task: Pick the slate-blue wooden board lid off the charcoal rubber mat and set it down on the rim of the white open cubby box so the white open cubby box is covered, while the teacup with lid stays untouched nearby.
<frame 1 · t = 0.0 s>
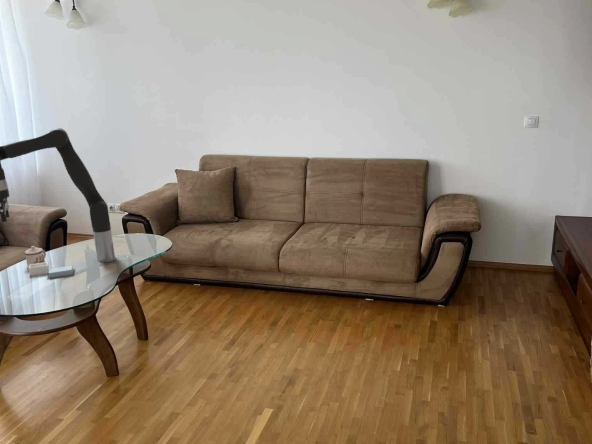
hand: (5, 219, 283), 29 cm above the table, tool pointing down, fingers open, 8 cm apart
teacup with lid: (38, 266, 301), on the table
mat: (61, 275, 285), on the table
white open cubby box: (40, 273, 289), on the table
lid: (61, 274, 284), point 1 cm above the table, touching mat
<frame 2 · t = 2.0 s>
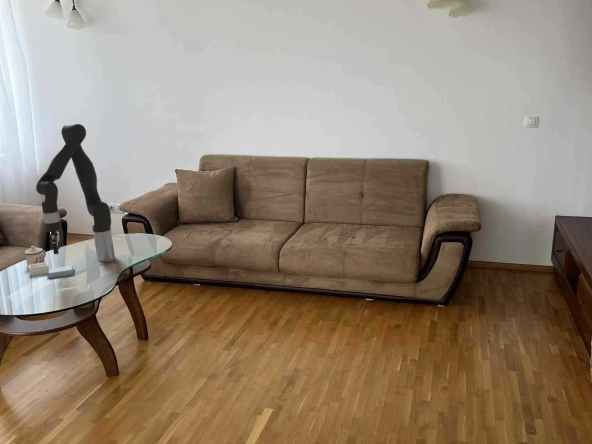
hand: (57, 251, 281), 13 cm above the table, tool pointing down, fingers open, 8 cm apart
nothing on the table moved.
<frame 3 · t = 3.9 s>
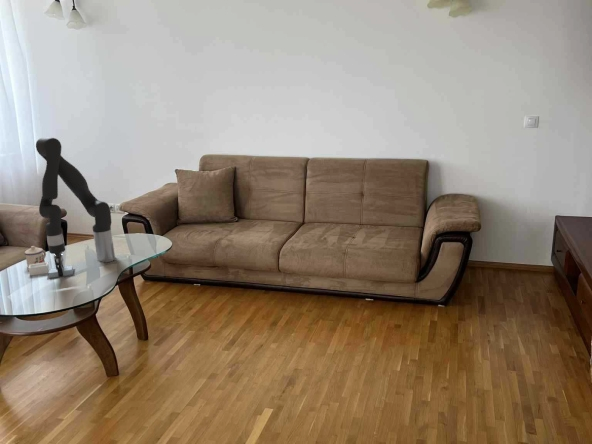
hand: (61, 273, 284), 1 cm above the table, tool pointing down, fingers closed on lid, 6 cm apart
lid: (61, 274, 284), point 1 cm above the table, touching gripper, mat
everything else where it was.
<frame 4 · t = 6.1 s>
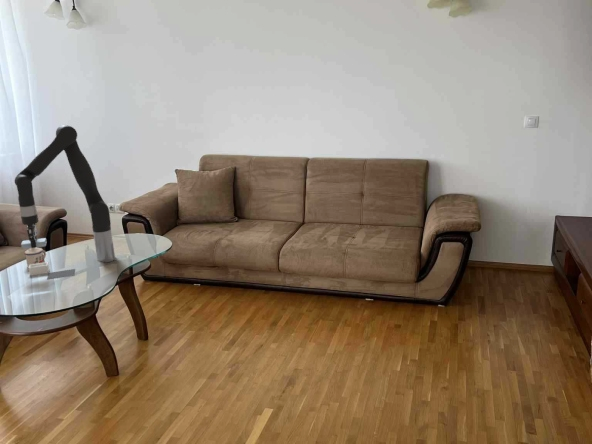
hand: (34, 245, 284), 16 cm above the table, tool pointing down, fingers closed on lid, 6 cm apart
lid: (34, 245, 284), point 16 cm above the table, touching gripper
everything else where it was.
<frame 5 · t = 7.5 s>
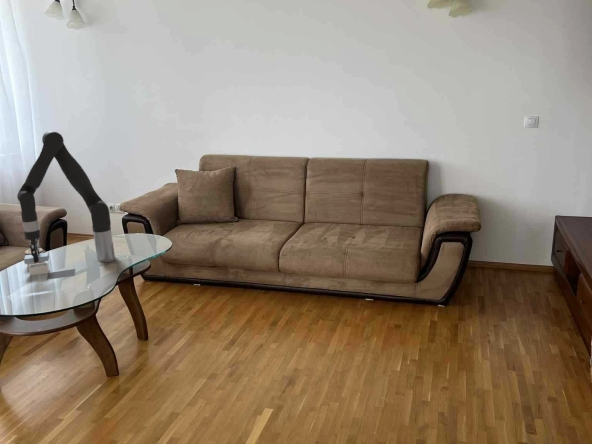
hand: (37, 260, 287), 8 cm above the table, tool pointing down, fingers closed on lid, 6 cm apart
lid: (37, 260, 287), point 7 cm above the table, touching gripper
everything else where it was.
when the fingers open (7 cm above the table, at t = 8.7 s): lid drops 1 cm, resting on white open cubby box.
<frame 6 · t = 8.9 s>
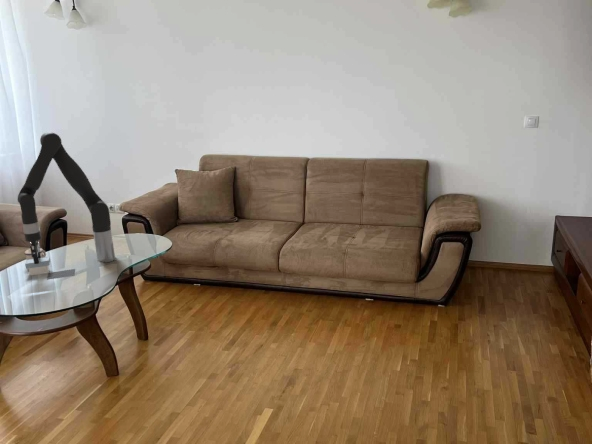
hand: (37, 261, 287), 7 cm above the table, tool pointing down, fingers open, 8 cm apart
lid: (38, 265, 287), point 5 cm above the table, touching white open cubby box
everything else where it was.
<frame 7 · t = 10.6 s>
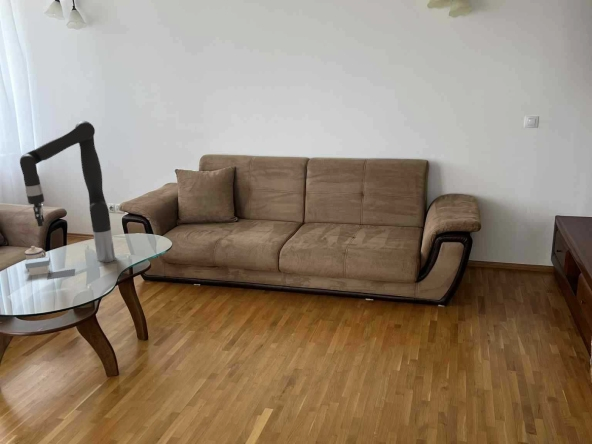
hand: (41, 224, 286), 25 cm above the table, tool pointing down, fingers open, 8 cm apart
nothing on the table moved.
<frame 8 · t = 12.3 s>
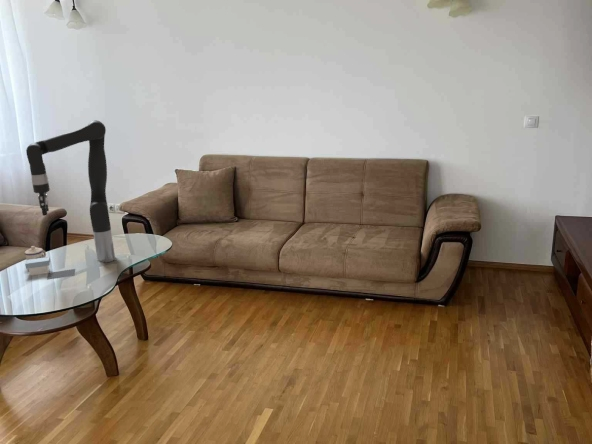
hand: (45, 213, 289), 30 cm above the table, tool pointing down, fingers open, 8 cm apart
nothing on the table moved.
at the end: lid 0.0 cm off-centre on the white open cubby box, point 5.0 cm above the white open cubby box's base; lid touching white open cubby box; the gripper is holding nothing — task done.
